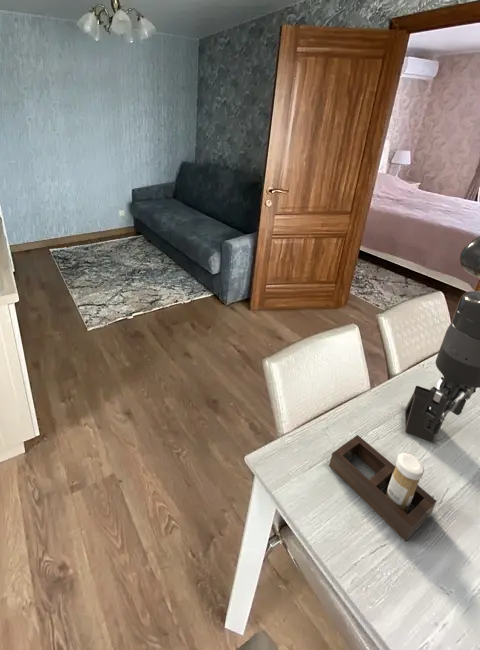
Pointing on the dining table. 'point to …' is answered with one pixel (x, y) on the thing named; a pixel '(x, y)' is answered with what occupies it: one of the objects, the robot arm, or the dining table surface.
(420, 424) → the phone stand
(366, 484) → the holder
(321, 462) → the dining table surface
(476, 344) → the robot arm
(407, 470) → the sprinkles bottle
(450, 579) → the dining table surface
